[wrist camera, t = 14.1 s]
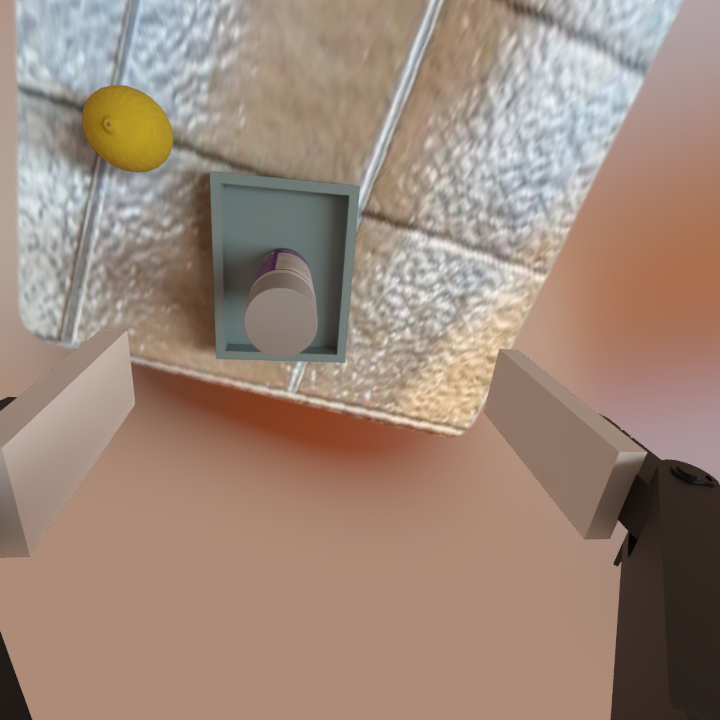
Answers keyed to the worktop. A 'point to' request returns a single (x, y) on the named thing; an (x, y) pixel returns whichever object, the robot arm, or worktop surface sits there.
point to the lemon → (127, 128)
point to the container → (281, 305)
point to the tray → (282, 230)
